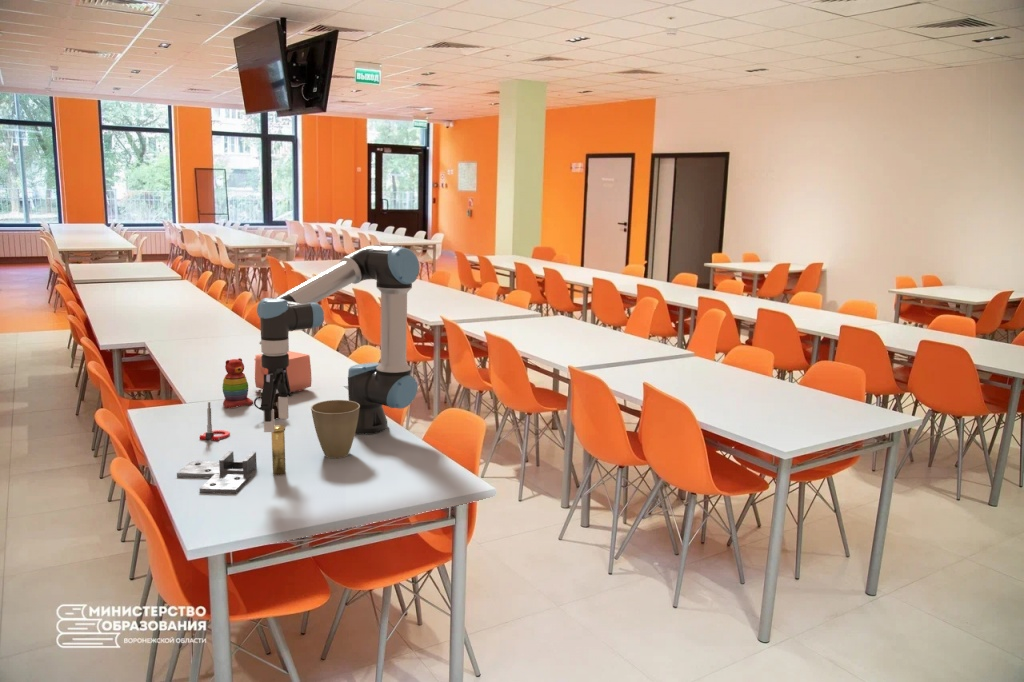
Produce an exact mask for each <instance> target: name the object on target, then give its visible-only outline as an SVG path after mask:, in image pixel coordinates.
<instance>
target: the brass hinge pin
mask: <svg viewBox="0 0 1024 682" xmlns="http://www.w3.org/2000/svg"><path fill="white" fill-rule="evenodd" d="M274 430H275V432H270V433H271V434H270V435H271V453H272V454H271V455H272V456H271V457H272V458H271V459H272V460H271V461H272V474H274V475H273V476H283V475H286V473H287V472H286V470H287V469H286V467H287V466H286V444H285V443H286V440H285V431H286V426H285V425H281V424H278V425H275V424H274Z"/></svg>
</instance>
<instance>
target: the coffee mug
mask: <svg viewBox="0 0 1024 682" xmlns="http://www.w3.org/2000/svg"><path fill="white" fill-rule="evenodd" d="M262 392H263V389H261V390H260V394H261V396H257V397H255V399H254V400H253V405H254V407H255V408H256V409H258V410H260V407H259V406H258V405H257V404H256V402H257V400H258V399H261V400H262ZM278 397H281V396H280V395H279V393H278V390H276V394H275V399H274V404H273V409H274V420H277V419H276V418H279V406H278ZM261 411H263V412H264V410H261Z"/></svg>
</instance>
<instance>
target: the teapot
mask: <svg viewBox="0 0 1024 682" xmlns="http://www.w3.org/2000/svg"><path fill="white" fill-rule="evenodd" d="M287 353H288V355H289V366H288V367H287V375H288V380H289V386H290V393H292V392H303V391H304V389H308V388H310V387H312V367H311V366H312V365H311V356H310V354H308V353H302V352H297V351H291V350H289V352H287ZM262 354H263V353H259V354H256V355H255V358H254V384H255V388H258V389H261V390H263V384H264V374H268V369H267V368H263V367H262V362H261V355H262ZM302 390H303V391H302Z"/></svg>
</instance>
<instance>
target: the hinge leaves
mask: <svg viewBox="0 0 1024 682" xmlns="http://www.w3.org/2000/svg"><path fill="white" fill-rule="evenodd" d="M234 456H235V455H234V451H233V450H229V451H228V452H227V453H226V454H224V455H223V456H222V457H221V458H220V459H219V460H218V461H208V460H207V461H206V460H205V461H204V460H202V461H200V460H198V461H197V460H191V461H189V462H188V463H187V464H186V465H184V466H182V468H181V469H180V470H179V471H178V472H176V477H177V478H196V477H210V478H208V480H207V481H206V482H205V483H204V484H203V485H202V486H201V487H199V493H200V494H234V495H236V494H238V492H240V491H241V489H242V488H243V486H245V485H246V484H247V483H248V482H249V480H250V479H251V478H252V473H253V472H254V471H255V470H257V466H258V465H257V451H251V452H250V453H249V454H248V455H247V456H246V457H245V458H243V460H234ZM232 468H243V469H232ZM245 483H246V484H245Z"/></svg>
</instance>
